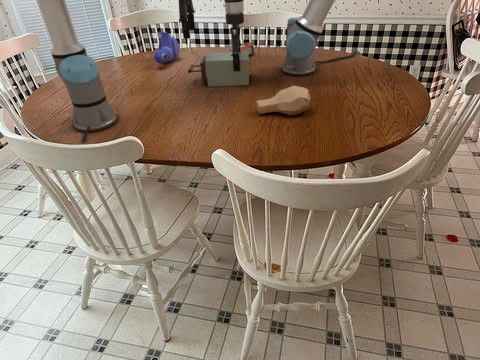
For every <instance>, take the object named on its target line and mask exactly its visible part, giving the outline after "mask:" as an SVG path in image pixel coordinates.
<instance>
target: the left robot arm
mask: <svg viewBox="0 0 480 360" xmlns="http://www.w3.org/2000/svg"><path fill="white" fill-rule="evenodd" d="M36 2H37V4H38V8H39V10H40V14H41V16H42V19H43V22H44V24H45V27H46V30H47V32H48V36H49V38H50V41H51V43H52V46H53V47H52V48H51V50H50V54H51V57H52V59H53V62H54V65H55V66H54V67H55V71H56V73H57V75H58V76H59V78H60V79H61V80H62V82H63V84H64V85H65V87H66V90H67V93H68V95H69V99H70V101H71V104H72V108H73V114H72V117H73V118H72V119H73V125H74V128H75V129H76V131H78V132H84V134H83V138H82V139H81V141H82V142H85V141H86V139H87V136H88V135H89V134H88V133H92V132H99V131H102V130H105V129H107V128H110V127H111V126H113V125H115V124H116V122H117V121H118V116H117V112H116V110H115V109H114V107H112V105H111V103H110V102H109V101H108V99H107V96H106V92H105V90H104V87H103V86H104V85H103V83H102V79H101V75H100V72H99V67H98V64H97V62H96V60H95V59H94V58H93V57H92V56H89V55H88V53H87V49H86V47H85V45H84V44H82V43H80V42H79V39H78V36H77V33H76V30H75V27H74V23H73V21H72V18H71V17H72V16H71V14H70V11H69V7H68V5H67V3H66V0H36ZM195 13H196V10H195V8H194V4H193V0H178V16H179V18H178V22H179V23H181V30H182V31H181V32H182V37H183V40H187V39H191V31H196V24H195V16H194V15H195Z"/></svg>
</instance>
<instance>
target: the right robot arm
mask: <svg viewBox="0 0 480 360" xmlns="http://www.w3.org/2000/svg"><path fill="white" fill-rule="evenodd" d="M335 1H336V0H309V1H308V3H307V5H306V7H305V9H304V10H303V13H302V15H301V16H298V17H289V18H288V19H287V23H286V28H287V29H286V31H287V32H286V40H285V49H286V54H285V57H284V61H283V64H282V70H281V71H282V72H283V73H284V74H285V75H290V76H307V75H311V74H313V73H315V72H316V64H324V63H330V62H333V61H336V60H342V59H348V58H351V57H354V56H355V55H356V54H359V55H360V54H361V52H360V51H359V50H356V51H354V52H353V53H352V54H349V55H345V56H340V57H336V58H331V59H328V60H315V59H314V58H315V57H314V55H313V54H314V52H315V50H316V45H317V43H318V40H319V38H320V37H321V35H322V34H323V28H322V25H323V23H324V21H325V20H326V18H327V16H328V14H329V12H330V11H331V9H332V6H333V5H334V3H335ZM244 5H245V4H244V0H224V4H223V8H224V11H225V15H224V16H225V23H226V24H227V25H229V26H230V25H231V27H230V35H231V36H230V37H231V38H230V39H231V45H232V54H231V56H233V68H234V71H240V60H239V52H241V49H240V47H243V45H242V43H241V37H240V36H241V26H240V25H242V24H244V23H245V14H244V11H245V8H244V7H245V6H244ZM239 46H240V47H239ZM234 52H237V53H234Z"/></svg>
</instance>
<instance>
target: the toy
mask: <svg viewBox="0 0 480 360" xmlns="http://www.w3.org/2000/svg"><path fill="white" fill-rule="evenodd" d="M157 34H158V35H161V36H159V40H158V49H157V51H156V50H154V53H153V55H152V58H153V60H154V61H155V62H156V63H158V64H160V67H161V69H163V68H164V64H166V63H169V62H172V61H173V60H175V59H176V58H177V57H179V54H180V45H179V41H178V40H177V38H176V37H175V36H174V35H172V36H171V35H170V34H169V33H168V31H164V32H163V31H158V32H157Z"/></svg>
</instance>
